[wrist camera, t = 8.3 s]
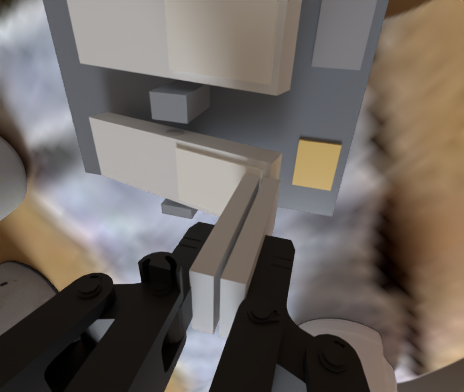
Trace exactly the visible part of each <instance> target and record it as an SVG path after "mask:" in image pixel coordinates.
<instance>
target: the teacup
mask: <svg viewBox="0 0 464 392" xmlns="http://www.w3.org/2000/svg"><path fill="white" fill-rule="evenodd" d="M26 191H27V179H26V172H25V168H24V165H23V162H22V160H21V158H20V156H19V155H18V153H17V152H16V151H15V150H14V148H13V147H12V146H11V145H10V144H9V143H8V142H7V141H6V140H4V139H3V138H2V137H0V221H1V220H2V219H3V218H5V217H6V216H7V215H9V214H10V213H11V212H12V211H14V210H15V209H16V208H17V207H18V206H19V205H20V203H21V202H22V201H23V199H24V197H25V194H26Z"/></svg>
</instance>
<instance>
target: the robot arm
mask: <svg viewBox="0 0 464 392" xmlns="http://www.w3.org/2000/svg"><path fill="white" fill-rule="evenodd" d="M280 181H281V180H278V179H272V178H266V177H264V180H263V182H262V184H261V187H260V189H259V183H260V176H254V175H248V174H244V176H243V177H242V179H241V181H240V183H239V184H238V186H237V188H236V190H235V191H234V193H233V195H232V197H231V198H230V200H229V202H228V204H227V205H226V207H225V209H224V211H223V212H222V214H221V216H220V218H219V219H218V221H217V223H216V224H215V225H212V224H207V223H202V222H198V223H196V224H195V225H193V226H192V227H190V228H189V229H188V231H187V232H186V234H185V235H184V236H183V238H182V239H181V241H180V242H179V245H177V247H176V248H175V250H174V251H173V252H172V254H171V253H169V252H156V253H151V254H149V255H147V256H145V257H143V258H142V259H141V260H140V261H139V262H138V265H139V270H140V276H141V283H136V284H113V281H112V278H111V277H109V276H108V275H107V274H103V273H91V274H87V275H84V276H82V277H80V278H79V279H77V280H75V281H74V282H72V283H71V284H70V285H68V286H67V287H66V288H64V289H63V290H62V291H60V292H59V293H57V294H56V295H55V296H53V297H52V298H51V299H49V300H48V301H47V302H45V303H44V304H42V305H41V306H40V307H38V308H37V309H36V310H34V311H33V312H32V313H30V314H29V315H28V316H26V317H25V318H23V319H22V320H21V321H19V322H18V323H17V324H15V325H14V326H13V327H11V328H10V329H9V330H7V331H6V332H4V333H3V334H2V335H0V392H164V391H165V389H166V386H167V384H168V382H169V380H170V377H171V375H172V373H173V370H174V368H175V366H176V364H177V361H178V359H179V357H180V355H181V352H182V350H183V348H184V345H185V342H186V338H187V336H186V330H187V328H188V326H189V324H190V322H191V320H192V329H196V330H199V331H202V332H206V333H209V334H212V335H213V334H214V331H215V329H216V326H217V324H218V321H219V318H220V324H219V337H223V338H226V339H227V341H226V344H225V347H224V349H223V352H222V355H221V358H220V361H219V364H218V367H217V370H216V372H215V375H214V378H213V381H212V384H211V387H210V390H209V392H370V389H369V386H368V382H367V379H366V376H365V373H364V370H363V367H362V363H361V360H360V358H359V356H358V354H357V352H356V350H355V349H354V348H353V347H352V346H351V345H350V344H349V343H348V342H347V341H345V340H343V339H342V338H340V337H338V336H335V335H331V334H319V335H317V336H315V337H314V336H313V335H311V334H309V333H308V332H306V331H304V330H303V329H301V328H300V327H299V326H297V325H296V324H295V323H294V322H293V320H292V319H291V317H290V316H289V314H288V311H287V297H288V291H289V285H290V279H291V273H292V267H293V260H294V254H295V249H294V246H293V244H292V241H291V240H287V239H283V238H278V237H273V236H272V233H273V229H274V224H275V217H276V210H277V203H278V196H279V188H280Z"/></svg>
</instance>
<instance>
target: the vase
mask: <svg viewBox="0 0 464 392" xmlns="http://www.w3.org/2000/svg"><path fill="white" fill-rule="evenodd" d="M57 293H58V292H57V291H56V290H55V289H54V287H53V286H52V285H51V284H50V282H49V281H47V280H46V279H45V278H44V277H43V276H42V275H41V274H40V273H39V272H37V271H35V270H33V269H32V268H31V267H30V266H28V265H24V264H22V263H18V262H14V261H6V262H3V263H2V264H0V335H2V334H3V333H4V332H6V331H7V330H9V329H10V328H11V327H13V326H14V325H15V324H17V323H18V322H19V321H21V320H22V319H23V318H25V317H26V316H28V315H29V314H30V313H32V312H33V311H34V310H36V309H37V308H38V307H40V306H41V305H42V304H44V303H45V302H47V301H48V300H49V299H51V298H52V297H53V296H55V295H56V294H57Z"/></svg>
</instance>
